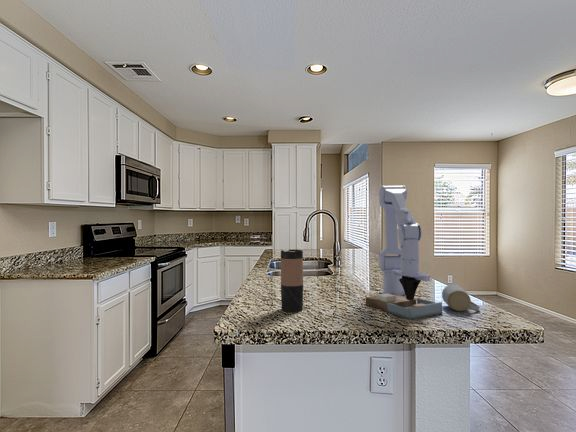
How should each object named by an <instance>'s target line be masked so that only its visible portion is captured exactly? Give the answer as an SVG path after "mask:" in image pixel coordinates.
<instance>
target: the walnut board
mask: <svg viewBox="0 0 576 432" xmlns="http://www.w3.org/2000/svg"><path fill="white" fill-rule="evenodd" d="M391 295H395V296H396V301H390V302H384V301H381V300H378V299H377V295H371V296H370V295H369V296H366V297H365V305H368V306H371V307H373V308H377V309H379V310H382V311H385V312H387V303H391V304H394V305H398V306H401V307H409V306H412V305H415V304H417V298H414V300H407V299H406V295H397V294H394V293H391Z"/></svg>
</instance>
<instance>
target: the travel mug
mask: <svg viewBox="0 0 576 432" xmlns="http://www.w3.org/2000/svg"><path fill="white" fill-rule="evenodd" d="M303 253H304V251H303V249H289V250H288V251H287V250H286V251H285V250H284V249H283V250H282V249H281V250H280V298H281V299H280V301H281V302H280V303H281V310H282V311H283V312H284V313H298V312H299V313H300V312H302V311H303V309H304V306H303V305H304V254H303Z"/></svg>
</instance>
